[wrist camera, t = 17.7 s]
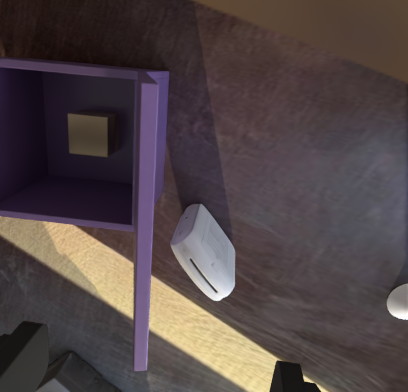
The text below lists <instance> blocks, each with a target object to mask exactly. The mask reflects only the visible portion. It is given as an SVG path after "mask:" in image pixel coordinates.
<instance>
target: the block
mask: <svg viewBox="0 0 408 392" xmlns="http://www.w3.org/2000/svg"><path fill="white" fill-rule="evenodd" d="M68 133H69V153H72V154H82V155H91V156H100V157H109V156H110V155H112V154H113V153H114V152H116V151H117V150H119V149H120V113H116V112H106V111H96V110H86V109H83V110H79V111H75V112H72V113H68Z"/></svg>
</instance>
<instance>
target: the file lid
mask: <svg viewBox="0 0 408 392" xmlns="http://www.w3.org/2000/svg"><path fill="white" fill-rule="evenodd" d="M158 96H159V84H158V83H157V82H156V81H155V80H154V79H153V78H152V77H151V76H150V75H148V74H147V73H146V72H141V71H138V72H137V115H136V159H135V203H134V327H133V370H134V371H145V370H147V354H148V330H149V307H150V283H151V260H152V236H153V213H154V189H155V166H156V143H157V119H158Z"/></svg>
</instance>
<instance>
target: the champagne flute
mask: <svg viewBox="0 0 408 392" xmlns="http://www.w3.org/2000/svg"><path fill="white" fill-rule="evenodd" d="M387 308H388V310H389V312H390V313H391V314H392V315H393V316H395V317H397V318H400V319H408V283H407V284H403V285H401V286H399V287H397V288H395V289H394V290H393V291H392V292H391V293H390V295H389V297H388V299H387Z"/></svg>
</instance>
